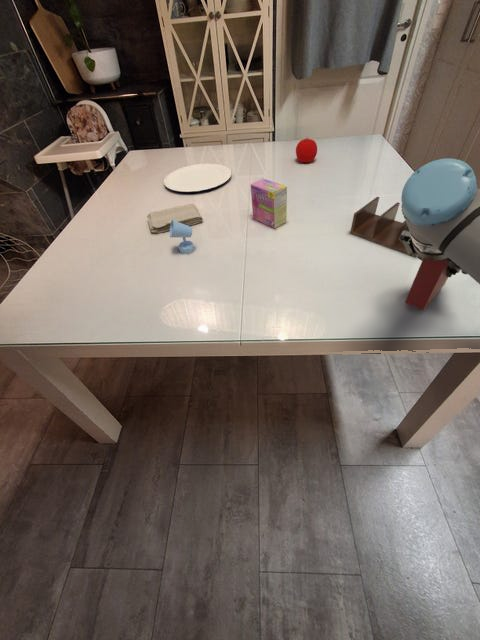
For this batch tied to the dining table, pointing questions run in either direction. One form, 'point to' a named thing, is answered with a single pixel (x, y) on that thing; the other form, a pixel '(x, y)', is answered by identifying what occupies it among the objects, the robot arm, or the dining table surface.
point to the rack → (379, 226)
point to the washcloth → (173, 217)
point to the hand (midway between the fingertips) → (440, 267)
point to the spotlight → (182, 231)
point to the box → (269, 202)
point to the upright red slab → (427, 282)
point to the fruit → (306, 150)
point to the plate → (197, 177)
